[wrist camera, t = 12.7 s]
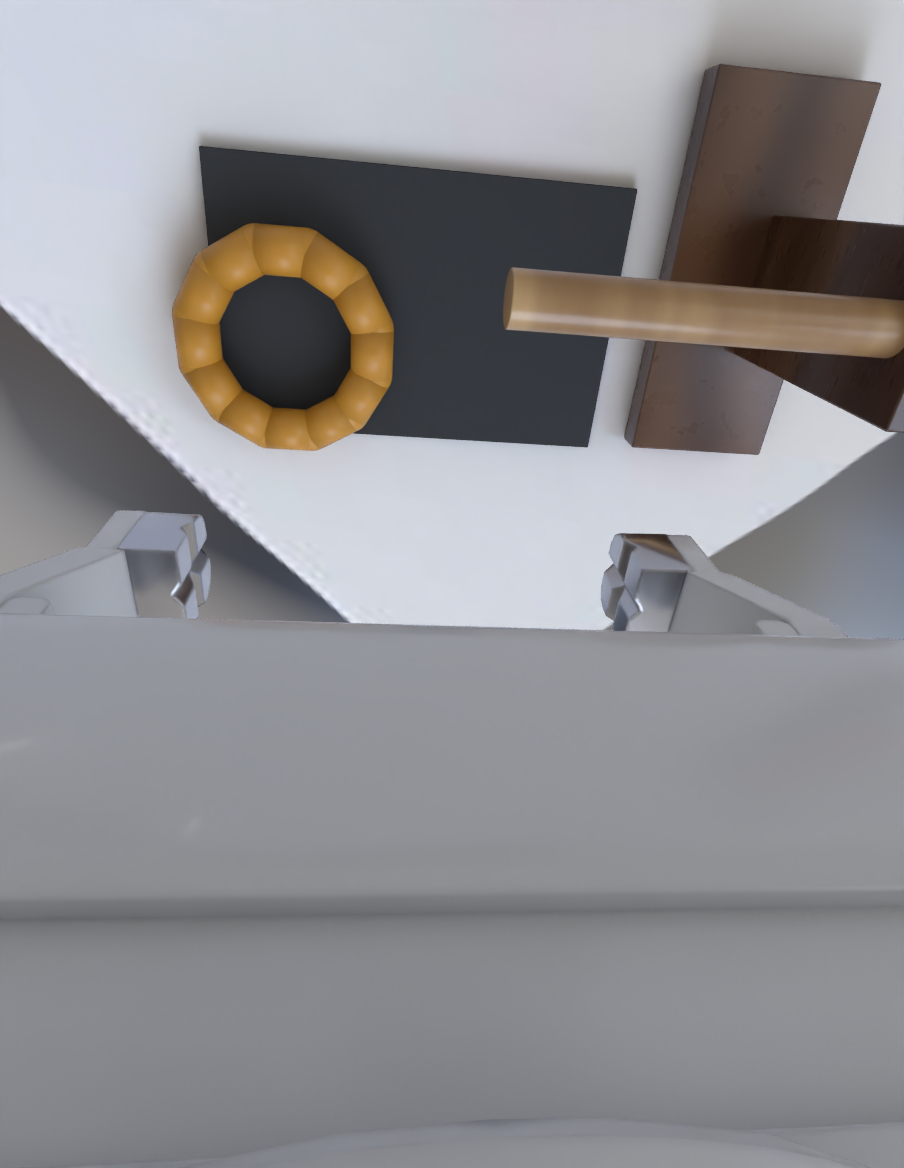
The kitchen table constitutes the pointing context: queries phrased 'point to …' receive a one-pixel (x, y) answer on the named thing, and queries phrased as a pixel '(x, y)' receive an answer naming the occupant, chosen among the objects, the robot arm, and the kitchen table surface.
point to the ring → (325, 270)
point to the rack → (750, 273)
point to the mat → (421, 291)
